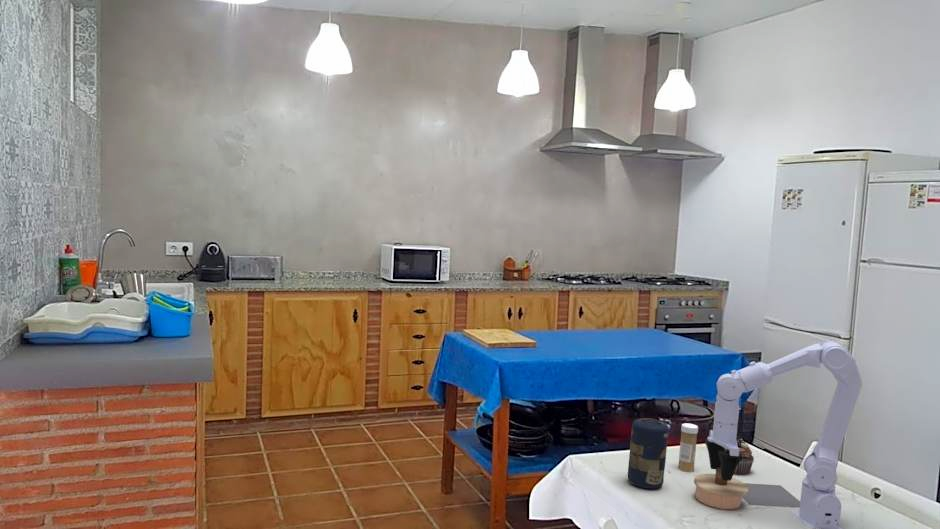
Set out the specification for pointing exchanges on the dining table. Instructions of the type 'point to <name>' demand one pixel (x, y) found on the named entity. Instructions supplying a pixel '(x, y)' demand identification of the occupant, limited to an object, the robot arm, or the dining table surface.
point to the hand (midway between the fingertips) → (720, 474)
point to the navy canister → (647, 453)
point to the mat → (770, 496)
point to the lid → (720, 484)
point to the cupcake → (744, 458)
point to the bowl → (718, 499)
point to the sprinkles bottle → (687, 447)
